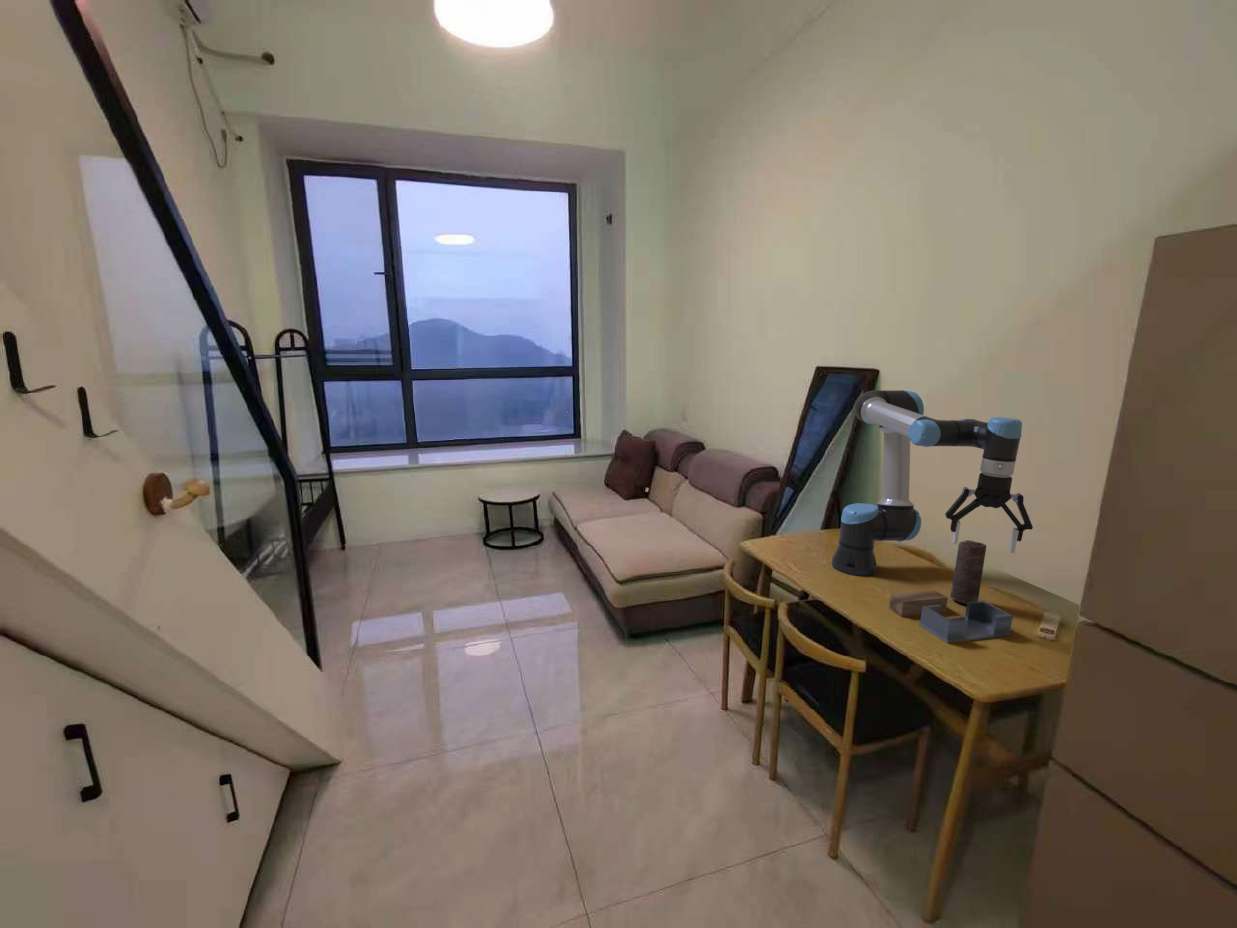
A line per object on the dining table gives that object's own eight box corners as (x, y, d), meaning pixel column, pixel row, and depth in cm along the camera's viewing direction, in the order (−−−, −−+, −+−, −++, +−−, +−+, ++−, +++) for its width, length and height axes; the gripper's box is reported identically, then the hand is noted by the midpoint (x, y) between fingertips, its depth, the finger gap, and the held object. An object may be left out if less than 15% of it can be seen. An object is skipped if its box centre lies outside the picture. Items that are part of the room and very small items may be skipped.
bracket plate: (919, 624, 153) (921, 605, 152) (979, 618, 158) (982, 599, 156) (947, 643, 143) (950, 622, 142) (1010, 635, 148) (1013, 616, 147)
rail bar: (888, 609, 163) (890, 594, 162) (932, 605, 166) (934, 590, 165) (900, 617, 158) (903, 601, 157) (945, 612, 162) (947, 597, 161)
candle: (963, 608, 164) (974, 547, 160) (943, 598, 171) (953, 539, 166) (983, 606, 166) (993, 545, 162) (962, 595, 173) (972, 537, 169)
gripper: (945, 471, 147) (933, 543, 152) (1056, 483, 137) (1040, 559, 142) (942, 466, 154) (930, 535, 159) (1048, 477, 144) (1032, 550, 148)
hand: (982, 547), depth 150 cm, fingers open, 13 cm apart
